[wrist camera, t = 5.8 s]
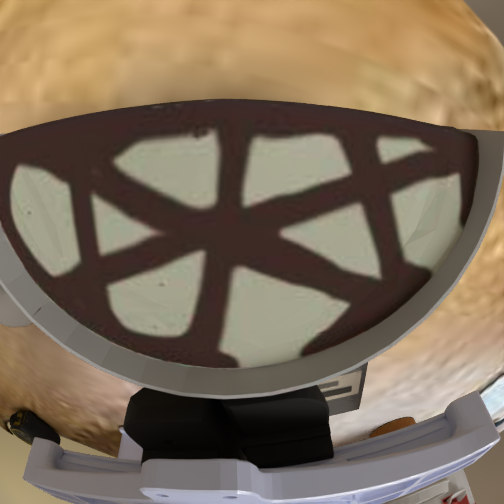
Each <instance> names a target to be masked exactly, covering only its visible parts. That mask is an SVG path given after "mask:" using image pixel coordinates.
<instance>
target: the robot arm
mask: <svg viewBox="0 0 504 504" xmlns="http://www.w3.org/2000/svg"><path fill="white" fill-rule="evenodd" d="M119 431H120V432H121V433H122V438H121V443H120V448H119V454H118V458H110V457H103V456H96V455H90V454H84V453H78V452H73V451H68V450H63V448H62V447H60V446H59V445H58V444H56V443H55V442H52V441H50V440H46V439H42V438H38V437H35V438H34V441H33V444H32V447H31V451H30V454H29V457H28V461H27V465H26V468H25V472H24V475H23V479H24V480H25V481H27V482H28V483H30V484H32V485H34V486H35V487H37V488H39V489H41V490H43V491H44V492H47V493H48V494H50V495H52V496H54V497H56V498H59V499H62V500H65V501H68V502H71V503H74V504H382V503H385V502H387V501H390V500H393V499H396V498H398V497H401V496H403V495H406V494H408V493H411V492H413V491H416V490H418V489H420V488H423V487H425V486H427V485H429V484H432V483H434V482H436V481H438V480H440V479H442V478H444V477H447V476H449V475H451V474H453V473H455V472H457V471H459V470H461V469H463V468H465V467H466V466H468V465H470V464H472V463H474V462H475V461H476V460H477V459H479V458H480V457H481V456H482V455H483V454H484V453H486V452H487V451H488V450H489V449H490V448H492V447H493V446H494V445H495V444H496V443H497V442H498V441H499V440H500V436H499V434H498V431H497V429H496V427H495V425H494V423H493V421H492V418H491V416H490V414H489V412H488V410H487V408H486V406H485V404H484V402H483V400H482V398H481V396H480V394H479V392H478V391H473V392H471V393H469V394H467V395H465V396H463V397H461V398H458V399H456V400H454V401H453V402H451V403H450V404H449V405H448V406H447V408H446V410H445V412H444V413H442V414H439V415H437V416H434V417H432V418H429V419H427V420H424V421H421V422H419V423H416V424H413V425H410V426H408V427H405V428H402V429H399V430H396V431H393V432H390V433H386V434H383V435H380V436H376V437H373V438H369V439H366V440H362V441H358V442H354V443H350V444H346V445H342V446H338V447H333V445H332V440H331V435H330V434H331V432H330V427H329V406H328V403H327V401H326V399H325V397H324V395H323V393H322V392H321V390H320V389H319V387H318V386H317V385H314V386H310V387H306V388H302V389H298V390H294V391H290V392H285V393H281V394H276V395H271V396H262V397H251V398H237V399H215V398H201V397H189V396H180V395H176V394H171V393H167V392H162V391H158V390H154V389H150V388H146V387H144V388H142V389H141V390H140V391H138V392H137V393H136V394H134V395H133V396H131V398H130V401H129V404H128V407H127V411H126V416H125V420H124V425H123V427H120V429H119Z"/></svg>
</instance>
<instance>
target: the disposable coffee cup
mask: <svg viewBox="0 0 504 504" xmlns="http://www.w3.org/2000/svg"><path fill="white" fill-rule="evenodd" d="M413 424H416V422H415V420H414V418H412V417H405V418H401V419H397V420H394V421H392V422H389V423H387V424H385V425H383V426H381V427H379V428H378V429H376V430H375V431H374V432H373V433H372V434H371V435H370V438H373V437H376V436H380V435H383V434H386V433H390V432H393V431H396V430H399V429H402V428H405V427H408V426H410V425H413ZM449 481H450V480H449V479H447V478H446V477H444V478H442V479H440V480H438V481H436V482H434V483H432V484H429V485H427V486H425V487H423V488H420V489H418V490H416V491H413V492H411V493H408V494H406V495H403V496H401V497H398V498H396V499H393V500H390V501H387V502H385V503H382V504H424V503H427V502H429V501H431V500H433V499H435V498H437V497H439V496H441V495H443V494H445V493H446V492H448V491H449V490H448V482H449Z"/></svg>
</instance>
